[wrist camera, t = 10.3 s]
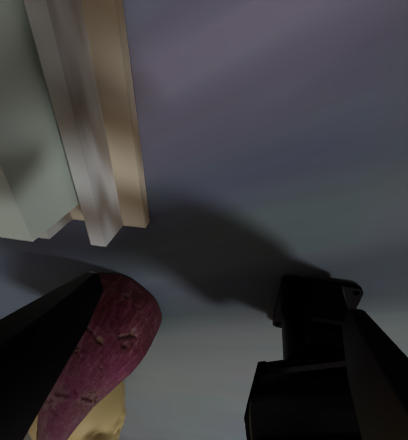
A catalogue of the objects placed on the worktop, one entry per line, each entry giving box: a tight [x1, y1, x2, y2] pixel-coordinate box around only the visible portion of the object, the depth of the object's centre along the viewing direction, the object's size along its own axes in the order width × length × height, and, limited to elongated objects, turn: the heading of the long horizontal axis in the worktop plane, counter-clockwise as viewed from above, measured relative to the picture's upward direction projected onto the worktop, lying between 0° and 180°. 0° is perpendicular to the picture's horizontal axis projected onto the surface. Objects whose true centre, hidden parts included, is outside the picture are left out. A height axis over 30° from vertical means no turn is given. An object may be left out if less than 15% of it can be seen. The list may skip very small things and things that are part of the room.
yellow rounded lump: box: [28, 380, 126, 440], centre depth 35 cm, size 12×12×11 cm
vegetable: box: [36, 273, 162, 440], centre depth 27 cm, size 10×10×15 cm
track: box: [23, 0, 150, 247], centre depth 18 cm, size 18×10×4 cm, turn 0°
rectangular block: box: [0, 0, 79, 242], centre depth 16 cm, size 12×2×7 cm, turn 0°
